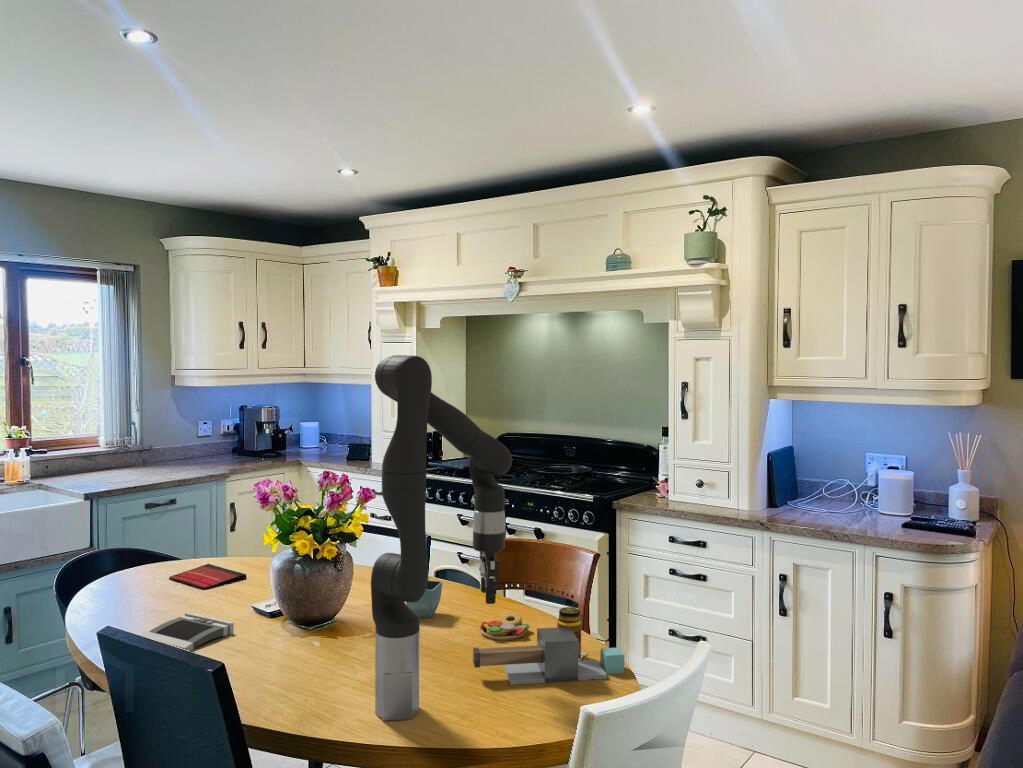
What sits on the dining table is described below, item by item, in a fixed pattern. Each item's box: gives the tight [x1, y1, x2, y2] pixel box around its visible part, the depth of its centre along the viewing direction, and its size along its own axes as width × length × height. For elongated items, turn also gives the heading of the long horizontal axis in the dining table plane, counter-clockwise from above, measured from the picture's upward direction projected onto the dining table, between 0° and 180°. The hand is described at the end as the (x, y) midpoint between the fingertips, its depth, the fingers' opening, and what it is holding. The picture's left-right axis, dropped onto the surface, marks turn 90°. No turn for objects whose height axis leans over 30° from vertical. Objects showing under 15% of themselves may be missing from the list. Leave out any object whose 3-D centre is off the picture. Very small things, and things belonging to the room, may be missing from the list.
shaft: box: [472, 644, 543, 669], centre depth 181 cm, size 3×23×3 cm, turn 100°
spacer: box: [599, 647, 625, 675], centre depth 185 cm, size 4×4×4 cm
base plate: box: [503, 659, 608, 686], centre depth 182 cm, size 9×23×1 cm, turn 100°
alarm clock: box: [140, 612, 235, 652], centre depth 202 cm, size 17×5×16 cm
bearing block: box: [536, 626, 579, 684], centre depth 182 cm, size 9×8×10 cm
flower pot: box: [405, 579, 443, 619], centre depth 222 cm, size 9×9×9 cm
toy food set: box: [479, 613, 530, 641], centre depth 209 cm, size 13×13×3 cm
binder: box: [169, 563, 247, 590], centre depth 255 cm, size 16×2×21 cm
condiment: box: [556, 606, 587, 659], centre depth 193 cm, size 7×8×12 cm
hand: (487, 597), depth 179 cm, fingers open, 8 cm apart
